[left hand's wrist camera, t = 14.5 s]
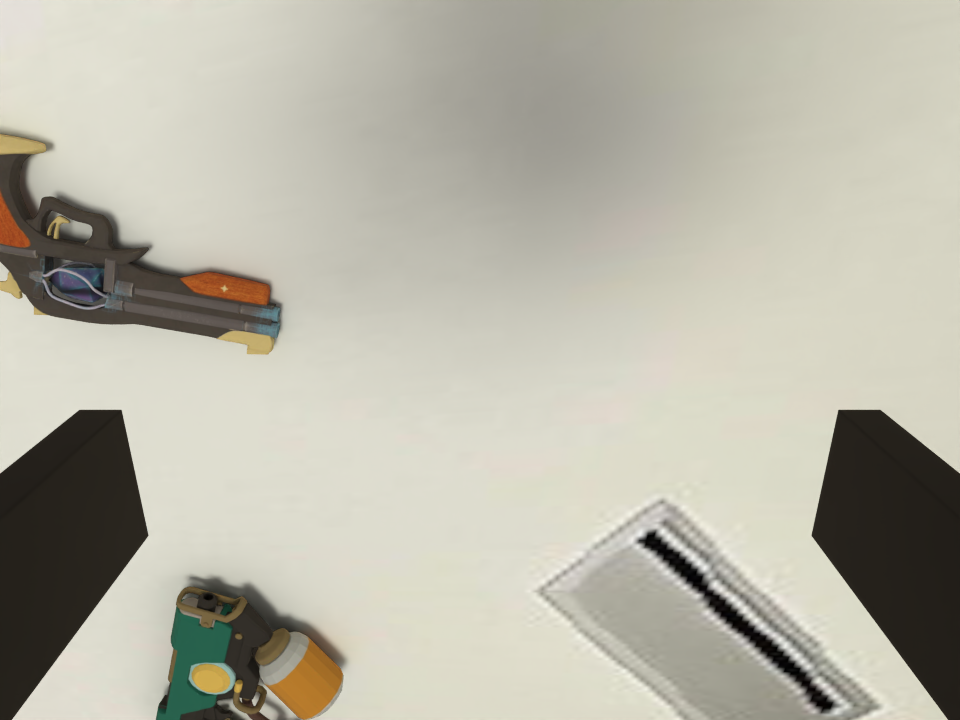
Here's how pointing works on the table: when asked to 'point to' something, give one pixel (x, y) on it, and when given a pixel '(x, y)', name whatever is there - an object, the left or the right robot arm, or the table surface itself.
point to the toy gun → (117, 273)
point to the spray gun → (241, 663)
